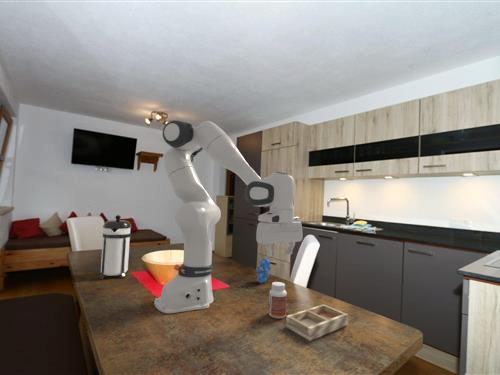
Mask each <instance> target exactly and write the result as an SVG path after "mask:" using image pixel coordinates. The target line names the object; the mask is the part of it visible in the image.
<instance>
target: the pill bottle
mask: <svg viewBox="0 0 500 375" xmlns="http://www.w3.org/2000/svg"><path fill="white" fill-rule="evenodd" d="M285 288H286V284H285V283H284V282H280V281H273V282H272V283H271V289H270V290H269V296H268V297H269V298H268V315H269V316H270V317H271V318H274V319H284V318H286V317H287V298H288V296H287V295H288V293H287V291H286V290H285Z"/></svg>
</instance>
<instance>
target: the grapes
mask: <svg viewBox="0 0 500 375" xmlns="http://www.w3.org/2000/svg"><path fill="white" fill-rule="evenodd" d="M258 263H259V266H257V267H256V272H257V275H256V279H257V281H258V283H259V284H263V283H264V284H265V283H266V282H267V280H268V278H269V276H270V272H269V271H271V270H272V268H271V265H270V264H271V261H270V260H269V259H268V258H267V257H264V258H263V259H262V260H261V261H260V262H258Z"/></svg>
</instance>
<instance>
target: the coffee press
mask: <svg viewBox="0 0 500 375" xmlns="http://www.w3.org/2000/svg"><path fill="white" fill-rule="evenodd" d="M102 228H103V232H102V246H101V260H100V275H99V276H98V279H99V280H103V279H104V278H106V276H108V277H109V276H110V277H111V276H113V277H114V276H115V277H116V276H119V277H120V279H125V278H126V274H127V273H129V270H128V269H129V255H130V241H131V235H132V234H131V228H132V224H131V223H130V222H129V221H128V220H123V219H121V215H119V214H117V215H116V216H115V219H113V220H111V219H110V220H107V221H105V222H104V224H103V225H102Z"/></svg>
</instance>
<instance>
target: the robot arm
mask: <svg viewBox="0 0 500 375" xmlns="http://www.w3.org/2000/svg"><path fill="white" fill-rule="evenodd" d="M162 138H163V140H164V142H165V143H166V144H167V145H168V146H170V147H171V148H170V149H168V150H167V151H165V153H164V154H163V157H162V158H163V159H162V160H163V163H164V168H165V171H166V174H167V178H168V179H169V182H170V184H171V186H172V189H173V191H174V194H175V195H176V197H177V198H179V199H180V200H181V201H182V202H183V204H181V205H179V207H178V208H177V209H176V211H175V214H174V218H175V222H176V224H177V226H178V227H179V228H180V231H181V234H182V239H183V259H182V260H183V263H182V264H181V265H179V264H175V265H174V266H173V269H174V270H175V271H177V274H176V275H175V276H174V277H173V278H171V279H170V280H169V281H168V282H167V283H165V284H164V285H163V287H162V290H161V293H160V296H159V297H156V298H155V299H154V302H153V305H154V307H155V308H156V309H157V310H158V311H159V312H161V313H163V314H176V313H183V312H189V311H196V310H205V309H209V307H210V305H211V304H212V303H213V302H214V301H215V299H214V294H213V287H212V276H213V263H212V259H213V257H212V256H213V242H212V241H211V240H210V234H209V228H211V227H213V226H215V225H216V224H217V223H218V222H219V221H220V220H221V216H222V215H221V214H222V212H221V209H220V208H219V206H218V205H217V204H216V203H215V202H214V201H213V199H212V198H211V196H210V195H209V193H208V192H207V190H206V189H205V188H204V186H203V184H202V182H201V180H200V178H199V175H198V174H197V171H196V169H195V166H194V165H193V163H192V160H191V158H194V157H196V156H197V155H198V154H199V153H200V152H202V151H204V152H205V153H206V154H207V156H208V157H209V158H210V159H211V160H212V161H213V162H215V163H216V164H217V165H218V166H220V167H222V168H225V169H227V170H229V171H231V172H233V173H234V174H236V176H238V177H239V178H240V179H241V181H243V182H244V184H245V185H246V187H245V190H244V198H245V201H246V202H248V204H250V205H251V206H253V207H261V208H262V207H263V208H269V210H268V211H266V212H265V213H262V214H259V215H258V217H257V220H258V221H259V222H258V224H257V226H256V232H255V234H256V235H255V236H256V237H255V238H256V242H257V244H260V245H264V247H265V250H266V256H267V257H269V258H270V257H274V253H275V252H274V251H273V250H272V246H273V245H274V244H286V243H288V247H287V248H286V251H285V252H286V253H285V254H286V255H292V254H293V250H294V247H295V246H296V243H298V242H302V240H303V237H304V236H303V226H302V225H303V224H302V220H301V218H300V217H299V216H295V206H294V200H295V195H296V192H295V191H296V189H295V188H296V186H295V179H294V177H293V176H292V175H291V174H288V173H285V172H282V171H281V172H280V171H274V172H273V173H271V174H270V175H268V176H267V177H264V178H262V177H261V176H260V175H258V173H257V172H256V171H255V170H254V168H252V166H250V165H249V163H248V162H247V161H246V160H245V158H244V156H243V155H242V153H241V152H240V150H239V149H238V147H237V146H236V145H235V143H234V141H233V140H232V139H231V137H230V136H229V135H228V134H227V133H226V132H225V131H224V130H223V129H222V128H221V127H220V126H218V125H217V124H216V123H215V122H213V121H211V120H205V121H203V122H201V123H199V124H198V125H197V126H194V125H192V123H189V122H186V121H181V120H170V121H168V122H167V123H165V124H164V126H163V129H162Z"/></svg>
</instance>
